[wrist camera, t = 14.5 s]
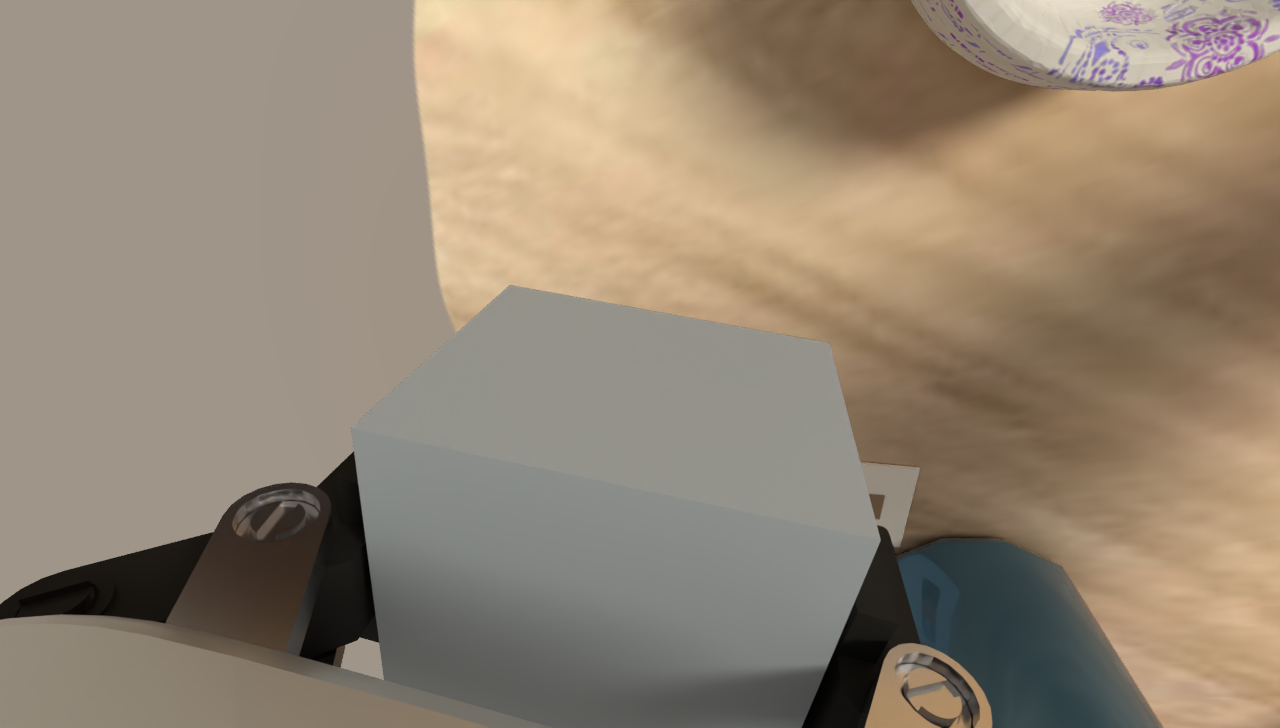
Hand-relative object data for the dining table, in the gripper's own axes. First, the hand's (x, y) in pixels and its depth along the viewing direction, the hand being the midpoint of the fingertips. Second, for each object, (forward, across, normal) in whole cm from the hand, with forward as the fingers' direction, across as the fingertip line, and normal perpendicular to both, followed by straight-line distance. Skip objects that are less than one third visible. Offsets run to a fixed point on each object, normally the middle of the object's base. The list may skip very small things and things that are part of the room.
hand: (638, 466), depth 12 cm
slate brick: (+1, 0, 0) cm, 1 cm away
